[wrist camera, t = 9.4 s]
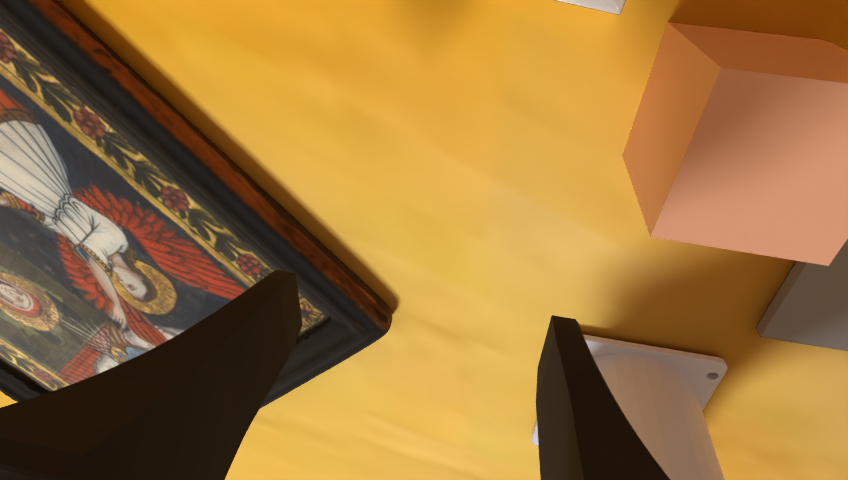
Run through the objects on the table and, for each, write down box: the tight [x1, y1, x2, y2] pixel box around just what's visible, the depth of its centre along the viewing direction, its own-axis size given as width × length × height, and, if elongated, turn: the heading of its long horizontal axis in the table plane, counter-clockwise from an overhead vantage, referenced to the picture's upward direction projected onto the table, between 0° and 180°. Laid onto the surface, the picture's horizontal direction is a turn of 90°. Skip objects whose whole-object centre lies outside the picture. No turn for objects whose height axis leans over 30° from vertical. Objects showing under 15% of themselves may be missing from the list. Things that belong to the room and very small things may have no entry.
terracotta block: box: [622, 22, 848, 266], centre depth 15 cm, size 5×5×6 cm
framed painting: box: [0, 0, 392, 409], centre depth 29 cm, size 38×35×3 cm
